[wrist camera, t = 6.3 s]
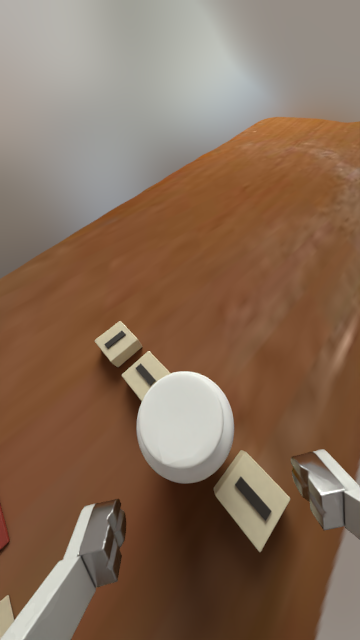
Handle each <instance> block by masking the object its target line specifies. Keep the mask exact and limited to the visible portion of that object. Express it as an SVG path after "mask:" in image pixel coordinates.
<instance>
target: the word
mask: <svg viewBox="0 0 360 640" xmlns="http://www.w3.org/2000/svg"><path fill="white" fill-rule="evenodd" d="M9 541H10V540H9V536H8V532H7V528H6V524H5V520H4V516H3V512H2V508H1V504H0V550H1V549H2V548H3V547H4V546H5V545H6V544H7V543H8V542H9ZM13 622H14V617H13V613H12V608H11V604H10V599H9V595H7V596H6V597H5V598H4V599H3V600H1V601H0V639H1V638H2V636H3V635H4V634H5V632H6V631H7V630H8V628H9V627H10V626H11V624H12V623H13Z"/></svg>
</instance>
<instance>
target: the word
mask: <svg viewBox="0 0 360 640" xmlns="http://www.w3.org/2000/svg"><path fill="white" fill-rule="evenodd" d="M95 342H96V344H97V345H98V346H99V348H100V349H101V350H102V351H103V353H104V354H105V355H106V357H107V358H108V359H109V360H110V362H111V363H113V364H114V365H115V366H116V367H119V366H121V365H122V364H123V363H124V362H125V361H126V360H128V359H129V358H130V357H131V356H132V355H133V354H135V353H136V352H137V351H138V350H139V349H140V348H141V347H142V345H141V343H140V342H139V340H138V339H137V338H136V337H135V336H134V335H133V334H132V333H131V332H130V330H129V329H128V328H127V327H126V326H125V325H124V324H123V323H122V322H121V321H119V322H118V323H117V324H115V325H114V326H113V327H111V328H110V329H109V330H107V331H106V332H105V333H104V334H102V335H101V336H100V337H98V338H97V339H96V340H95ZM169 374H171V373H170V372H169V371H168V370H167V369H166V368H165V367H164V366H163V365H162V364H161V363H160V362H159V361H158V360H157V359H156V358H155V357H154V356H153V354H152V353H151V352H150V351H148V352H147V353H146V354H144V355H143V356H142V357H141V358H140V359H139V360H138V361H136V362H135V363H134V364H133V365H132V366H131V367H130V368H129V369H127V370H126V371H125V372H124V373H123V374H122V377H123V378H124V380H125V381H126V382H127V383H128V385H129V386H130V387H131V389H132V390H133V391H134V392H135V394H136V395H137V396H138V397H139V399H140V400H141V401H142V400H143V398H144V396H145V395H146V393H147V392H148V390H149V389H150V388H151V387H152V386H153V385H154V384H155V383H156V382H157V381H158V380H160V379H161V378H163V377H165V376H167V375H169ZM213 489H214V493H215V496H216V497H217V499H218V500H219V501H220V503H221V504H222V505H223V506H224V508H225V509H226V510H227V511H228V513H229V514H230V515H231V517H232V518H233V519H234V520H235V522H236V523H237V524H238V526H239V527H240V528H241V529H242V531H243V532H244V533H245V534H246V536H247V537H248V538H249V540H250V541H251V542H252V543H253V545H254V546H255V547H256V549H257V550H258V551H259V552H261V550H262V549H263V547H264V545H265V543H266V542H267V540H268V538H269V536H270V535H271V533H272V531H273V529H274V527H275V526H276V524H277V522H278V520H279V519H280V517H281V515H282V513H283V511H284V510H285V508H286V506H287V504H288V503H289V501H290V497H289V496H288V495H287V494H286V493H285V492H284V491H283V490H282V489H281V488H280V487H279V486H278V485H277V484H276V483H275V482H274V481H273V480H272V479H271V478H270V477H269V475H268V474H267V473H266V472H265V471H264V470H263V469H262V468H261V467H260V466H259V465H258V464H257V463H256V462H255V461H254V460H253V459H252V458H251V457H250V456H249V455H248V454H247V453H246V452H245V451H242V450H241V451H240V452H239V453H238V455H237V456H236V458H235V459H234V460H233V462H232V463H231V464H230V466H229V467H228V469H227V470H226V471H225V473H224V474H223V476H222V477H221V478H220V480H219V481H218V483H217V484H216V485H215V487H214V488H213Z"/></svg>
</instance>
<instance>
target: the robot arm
mask: <svg viewBox="0 0 360 640" xmlns="http://www.w3.org/2000/svg"><path fill="white" fill-rule="evenodd" d="M291 464H292V465H293V467H294V468H293V470H292V475H293V479H294V482H295V484H296V486H297V488H298V490H299V492H300V493H301V495H302V497H303V498H305V499H306V500H307V501H309V502H310V508H311V511H312V513H313V514H314V516H315V517H316V519H317V521H318V522H319V524H320V525H321V527H322V529H323V530H328V529H333V528H338V527H342V526H345V528H346V529H347V530H349V531H350V532H351V533H353V534H354V535H355V536H356V537H357V538H358V539H360V486H359V485H358V484H357V483H356V482H355V481H354V480H353V479H352V478H351V477H350V476H349V475H348V474H347V472H346V471H345V470H344V469H343V468H342V467H341V466H340V465H339V464H338V463H337V462H336V461H335V460H334V459H333V458H332V457H331V456H330V455H329V453H328V452H327V451H325V450H323V449H322V450H318V451H314V452H308V453H304V454H301V455H297V456H293V457H291ZM120 507H121V502H120V500H119V499H115V500H110V501H106V502H101V503H96V504H92V505H88V506H85V507H84V508H83V510H82V511H81V514H80V516H79V519H78V521H77V524H76V527H75V529H74V532H73V535H72V537H71V540H70V542H69V545H68V548H67V550H66V553H65V556H64V558H63V560H61V561H59V562H58V563H57V565H56V566H55V567H54V569H53V570H52V571H51V573H50V574H49V575H48V577H47V578H46V579H45V580H44V582H43V583H42V584H41V586H40V587H39V588H38V590H37V591H36V592H35V594H34V595H33V596H32V598H31V599H30V600H29V602H28V603H27V604H26V606H25V607H24V608H23V610H22V611H21V612H20V614H19V615H18V616H17V618H16V619H15V620H14V622H13V623H12V624H11V626H10V627H9V628H8V630H7V631H6V632H5V634H4V635H3V636H2V638H1V639H0V640H71V638H72V636H73V634H74V632H75V630H76V628H77V626H78V624H79V622H80V620H81V618H82V616H83V614H84V612H85V610H86V608H87V606H88V604H89V602H90V600H91V598H92V596H93V595H94V593H95V591H96V587H100V586H103V585H107V584H110V583H114V582H117V581H118V575H119V570H120V564H121V558H122V555H121V552H120V547H121V546H122V544H123V542H124V540H125V534H126V516H125V513H124V511H123V510H121V509H120Z"/></svg>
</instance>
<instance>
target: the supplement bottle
mask: <svg viewBox="0 0 360 640" xmlns="http://www.w3.org/2000/svg"><path fill="white" fill-rule="evenodd" d="M233 436H234V420H233V414H232V410H231V407H230V404H229V402H228V400H227V398H226V396H225V395H224V393H223V392H222V390H221V389H220V388H219V387H218V386H217V385H216V384H215V383H214V382H213V381H211V380H210V379H209V378H207V377H205V376H203V375H201V374H198V373H194V372H187V371H185V372H175V373H172V374H169V375H167V376H165V377H163V378H161V379H160V380H158V381H157V382H156V383H155V384H154V385H153V386H152V387H151V388H150V389H149V390H148V392H147V393H146V395H145V396H144V398H143V400H142V403H141V405H140V408H139V411H138V416H137V438H138V442H139V446H140V449H141V452H142V454H143V456H144V458H145V459H146V461H147V462H148V464H149V465H150V466H151V468H152V469H153V470H154V471H155V472H157V473H158V474H159V475H161V476H162V477H164V478H166V479H168V480H170V481H173V482H177V483H195V482H199V481H201V480H204V479H206V478H208V477H209V476H211V475H212V474H213V473H215V472H216V471H217V470H218V469H219V468H220V467H221V465H222V464H223V463H224V461H225V459H226V458H227V456H228V454H229V452H230V449H231V446H232V442H233Z"/></svg>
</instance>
